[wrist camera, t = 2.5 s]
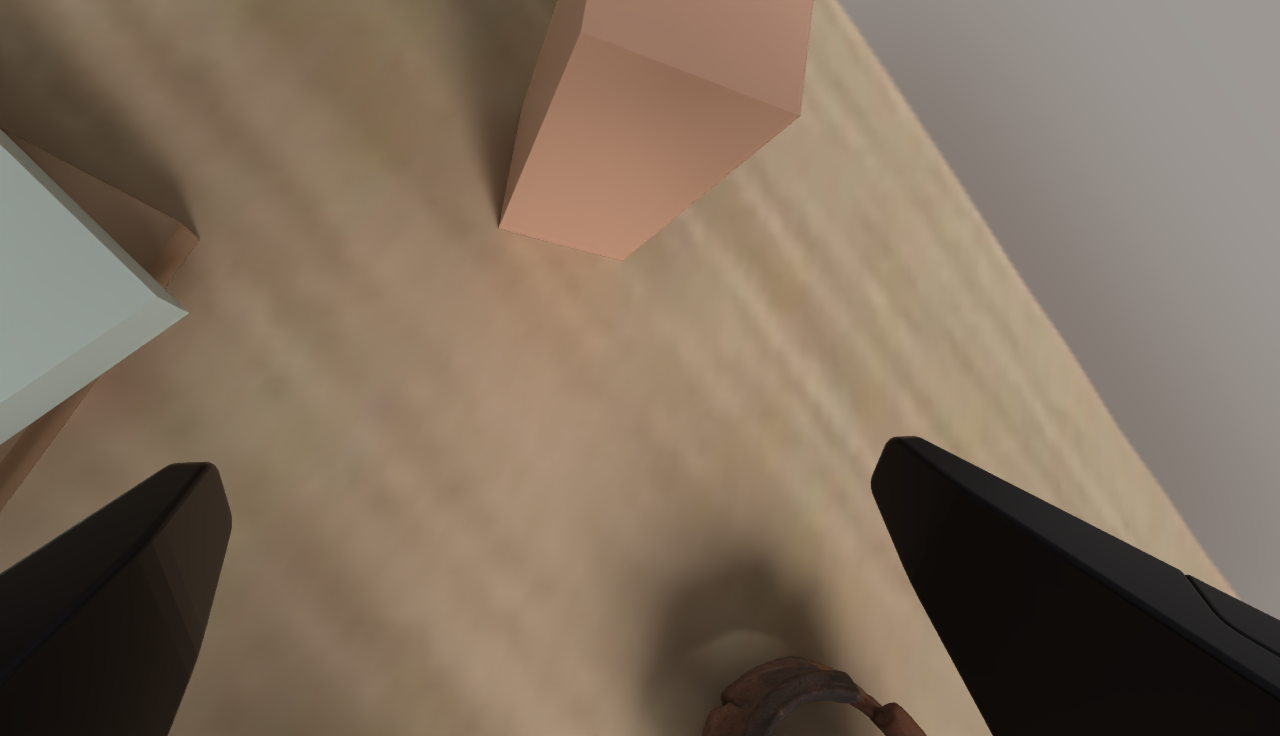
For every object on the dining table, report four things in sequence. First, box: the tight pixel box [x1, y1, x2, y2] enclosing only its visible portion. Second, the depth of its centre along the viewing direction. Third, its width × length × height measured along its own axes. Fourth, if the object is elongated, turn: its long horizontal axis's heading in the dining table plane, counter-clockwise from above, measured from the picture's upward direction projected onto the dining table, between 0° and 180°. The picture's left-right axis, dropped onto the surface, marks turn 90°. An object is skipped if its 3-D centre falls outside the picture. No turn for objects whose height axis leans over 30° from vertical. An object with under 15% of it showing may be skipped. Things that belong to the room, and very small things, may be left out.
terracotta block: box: [498, 0, 813, 261], centre depth 17 cm, size 4×4×11 cm
